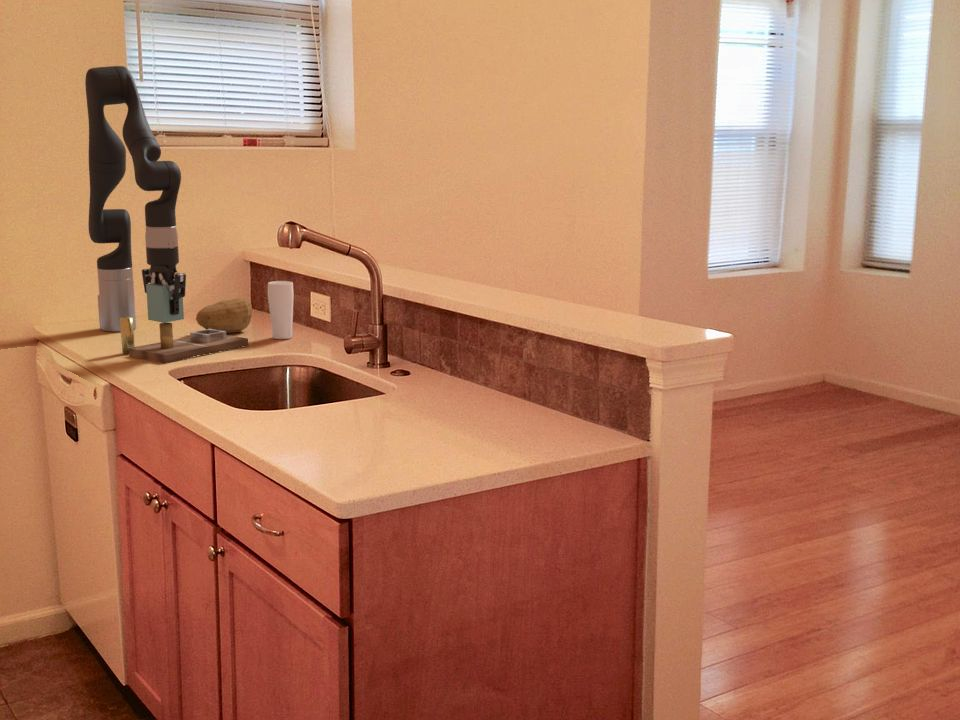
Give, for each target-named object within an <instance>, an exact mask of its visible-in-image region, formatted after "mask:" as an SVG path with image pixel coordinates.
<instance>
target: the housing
mask: <svg viewBox="0 0 960 720" xmlns="http://www.w3.org/2000/svg"><path fill="white" fill-rule="evenodd" d="M168 286H169V287H172V286H174V284H173V285H168ZM146 290H147V293H146V301H147V303H146V304H147V319H148V321H151V322H158V323H172V322H176V321H182V320H184V319H185V315H184V314H185V313H184V297H182V298H180V299H179V314H177V315H171V314H170V304H169V300H170V299H169V292H168V291H167V287H166V286H163V285H160V284H150V283H148V284H146ZM180 291H181V288H180V289H179V293H180ZM172 293H173V294H174V290H172Z"/></svg>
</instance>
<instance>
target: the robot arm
mask: <svg viewBox="0 0 960 720" xmlns="http://www.w3.org/2000/svg"><path fill="white" fill-rule="evenodd" d="M84 80H85V97H86V106H87V115H88V116H87V118H88V174H89V175H88V177H89V204H88V205H89V207H88V222H87V223H88V224H87V225H88V226H87V227H88V235H89V237H90V240H91V241H92V242H93V243H95V244H118V245H117V247H116V248H115V249H114V250H113V251H111V252H109V253H107V254H103V255H101V256H99V257H97V260H96V269H97V270H96V271H97V280H98V281H97V283H98V295H97V307H98V309H97V310H98V319H99V329H101V331H104V332H121V325H120V318H121V317H133V329H134V330H136V329H137V319H136V317H137V316H136V300H135V286H134V273H133V272H134V271H133V258H132V257H133V256H132V255H133V254H132V224H131V216H130V213H129V211H128V210H127V209H123V208H113V209H112V208H111V209H110V208H108V209H106V208H105V204H106V202H107V200H108V198H109V197H110V195H111V194H112V192H113V191H114V190H115V189H116V188H117V187H118V185H119V184H120V182H121V181H122V180H123V179H124V176H125V174H126V170H127V169H126V168H127V150H128V153H129V154H130V157H131V159H132V163H133V169H134V180H135V183H136V185H137V186H138V187H139V189H141V190H142V191H145V192H159V191H162V192H161V195H160V197H159V198H156V199H154V200H151V201H148V202H147V203H145V205H144V216H145V217H144V219H145V220H144V221H145V233H144V234H145V236H144V238H145V239H144V240H145V252H146V253H145V254H146V263H147V265H149V266H150V268H143V269H141V276H142V282H143V289H144V293H145V294H147V290H146V284H160V285H163V286H166V287H167V291H168V292H169V299H170V300H169V304H170V314H171V315H177V314H179V299H180V298H182V297H183V298H185V296H186V286H187V282H186V281H187V275H186V273H185V272H183V273H180V272H178V270H177V265H178V264H179V263H180V258H179V240H178V239H179V236H178V231H177V222H176V221H177V220H176V207H177V200H178V196H179V195H178V194H179V190H180V187H181V184H182V183H181V182H182V172H181V169H180V167H179V165H178V164H177V163H176V162H175V161H173V160H159V159H160V158H161V156H162V150H161V147H160V145H159V143H158V141H157V139H156V137H155V135H154V132H153V131H152V129H151V127H150V125H149V122H148V119H147V116H146V113H145V110H144V107H143V103H142V100H141V97H140V94H139V91H138V89H137V85H136V83H135V82H136V81H135V80H134V77H133V75H132V72H131V71H130V70H129V68H127V67H126V66H123V65H113V66H99V67H91V68H89V69H88V70H87V72H86V74H85V79H84ZM121 104H122V105H123V104H125V105H126V106H127V114H126V117H125V120H124V123H123V126H122V133H121V134H122V139H123V140H122V139H121V138H120V136H119V135H118V134H117V133H116V131H115V130H114V129H113V128H112V126H111V125H110V123H109V121H108V120H107V118H106V115H105V112H104V110H105V106H112V105H121ZM123 141H124V142H123ZM125 146H126V147H125ZM126 149H127V150H126ZM104 208H105V209H104ZM173 284H174V286H172V287H169V286H168V285H173ZM180 288H181V291H180V293H179V289H180ZM172 290H174V294H173V293H172Z"/></svg>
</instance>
